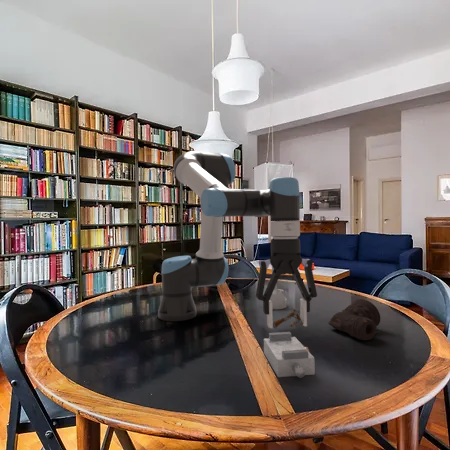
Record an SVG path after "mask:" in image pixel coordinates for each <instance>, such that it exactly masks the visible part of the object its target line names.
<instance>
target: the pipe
mask: <svg viewBox="0 0 450 450" xmlns="http://www.w3.org/2000/svg"><path fill="white" fill-rule="evenodd" d="M380 323H381V313H380V312H379V309H378V308H377V307H376V306H375V304H374V303H372V302H371V301H369V300H367V299H362V298H361V299H359V298H358V299H356V300H354V301H352V303H351V304H349V305H348V306H347V307H345V308H344V309H343V310H342V311H339V312H336V313H335V314H333V315H332V317H331V318H330V320H329V321H328V325H330V326H331V327H332V328H334V329H335V330H338V331H340V332H343V333H347V334H348V335H349V336H350V337H353V338H355V339H357V340H360V341H369V340H370V341H371V340H372V339H373V338H374V337H375V334H376V333H377V327H378V326H379V325H380Z"/></svg>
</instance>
